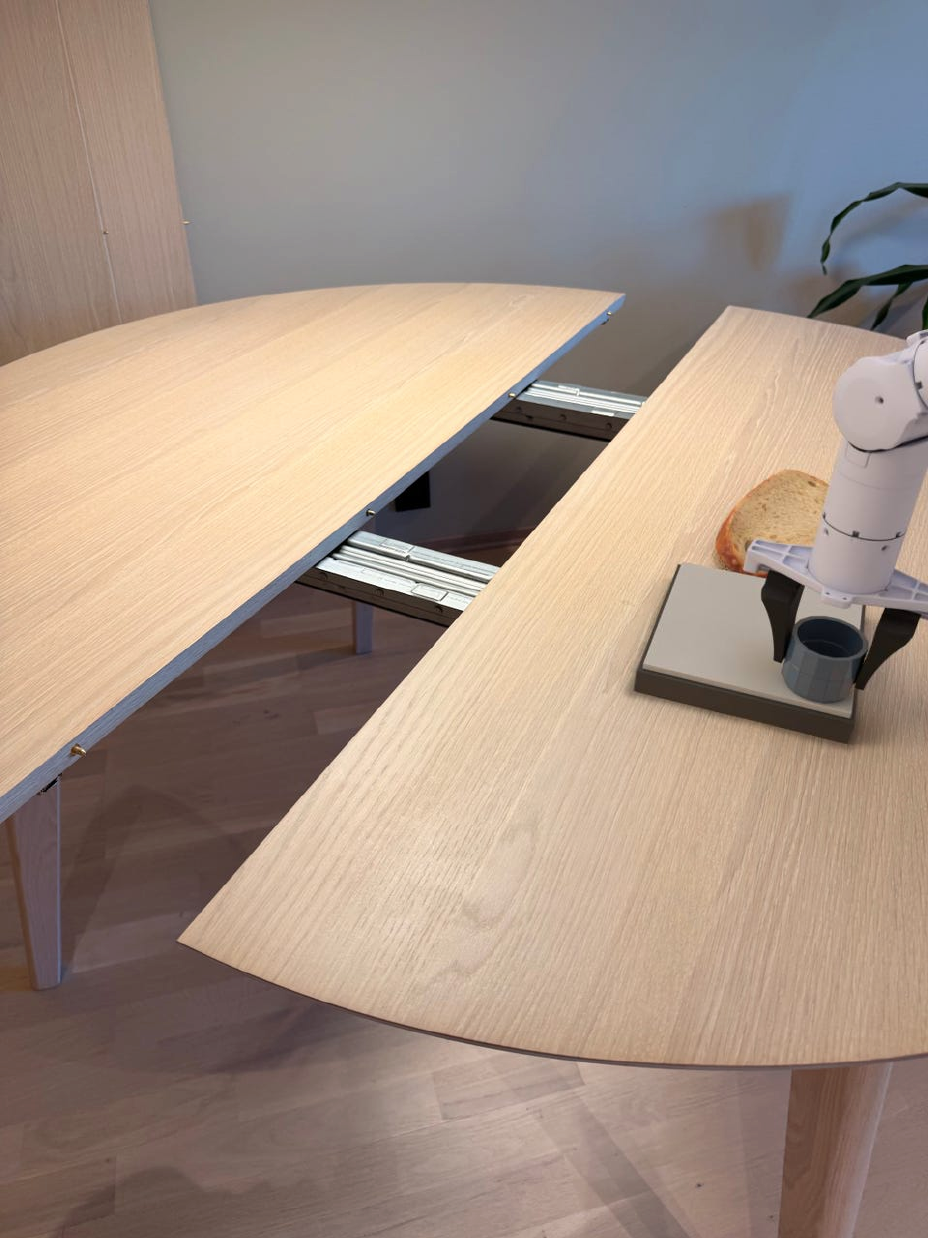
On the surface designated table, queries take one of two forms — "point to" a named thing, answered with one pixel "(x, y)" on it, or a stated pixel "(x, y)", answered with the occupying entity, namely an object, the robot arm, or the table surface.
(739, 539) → the slice of bread
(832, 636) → the cup
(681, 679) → the scale
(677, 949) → the table surface
